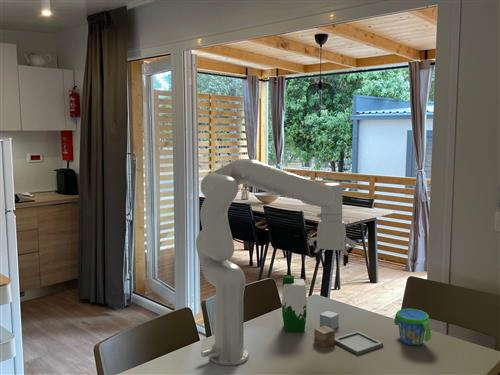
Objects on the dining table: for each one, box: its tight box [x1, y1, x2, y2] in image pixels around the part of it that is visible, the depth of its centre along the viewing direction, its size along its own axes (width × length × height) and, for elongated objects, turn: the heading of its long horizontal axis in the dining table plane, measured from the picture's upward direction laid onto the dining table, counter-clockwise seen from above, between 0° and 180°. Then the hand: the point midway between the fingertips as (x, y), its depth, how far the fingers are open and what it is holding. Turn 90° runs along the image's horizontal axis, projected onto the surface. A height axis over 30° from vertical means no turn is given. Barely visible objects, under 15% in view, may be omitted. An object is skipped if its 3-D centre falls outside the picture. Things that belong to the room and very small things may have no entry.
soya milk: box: [281, 274, 307, 333], centre depth 180 cm, size 9×9×20 cm
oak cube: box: [313, 326, 336, 348], centre depth 168 cm, size 5×5×5 cm
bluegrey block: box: [319, 310, 340, 330], centre depth 183 cm, size 5×5×5 cm
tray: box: [335, 330, 384, 356], centre depth 167 cm, size 12×12×1 cm
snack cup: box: [393, 308, 432, 346], centre depth 168 cm, size 16×10×10 cm
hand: (331, 264), depth 175 cm, fingers open, 9 cm apart
